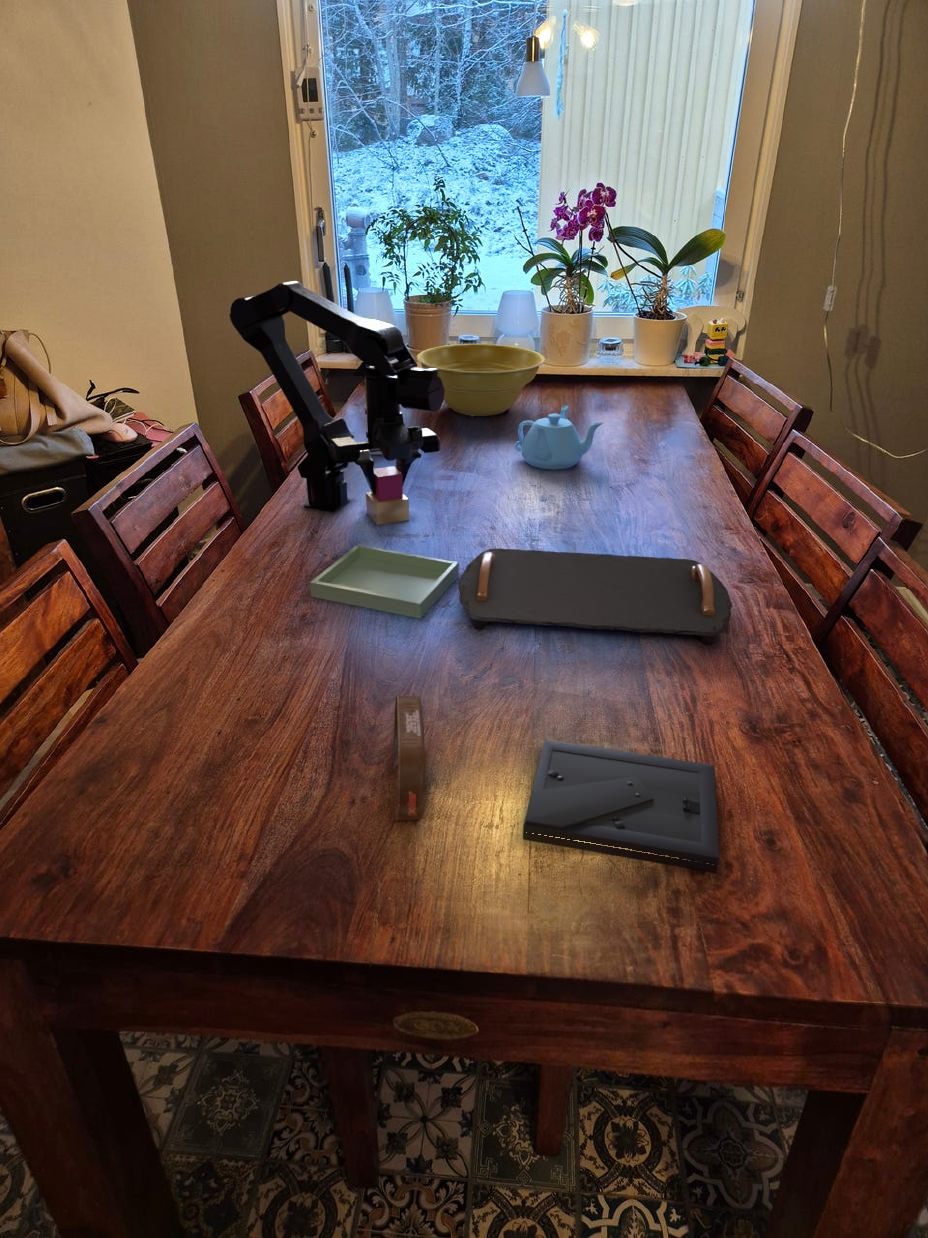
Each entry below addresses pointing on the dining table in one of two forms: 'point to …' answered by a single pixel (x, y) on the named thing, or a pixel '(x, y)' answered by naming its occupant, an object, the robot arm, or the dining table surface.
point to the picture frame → (625, 805)
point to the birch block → (387, 509)
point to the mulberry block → (388, 483)
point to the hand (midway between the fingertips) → (386, 492)
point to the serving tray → (595, 592)
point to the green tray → (386, 580)
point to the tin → (408, 758)
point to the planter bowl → (482, 375)
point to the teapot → (553, 442)
